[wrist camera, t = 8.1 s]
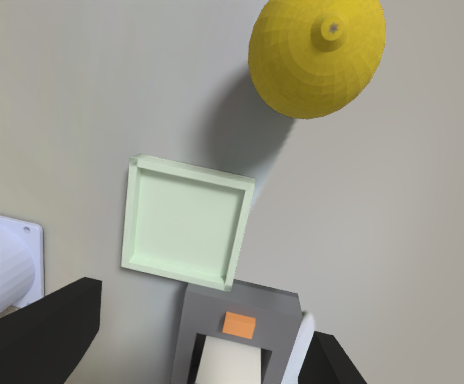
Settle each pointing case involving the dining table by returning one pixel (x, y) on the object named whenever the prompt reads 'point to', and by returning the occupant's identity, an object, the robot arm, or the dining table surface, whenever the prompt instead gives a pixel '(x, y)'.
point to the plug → (229, 363)
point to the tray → (185, 221)
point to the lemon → (315, 53)
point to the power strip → (237, 326)
